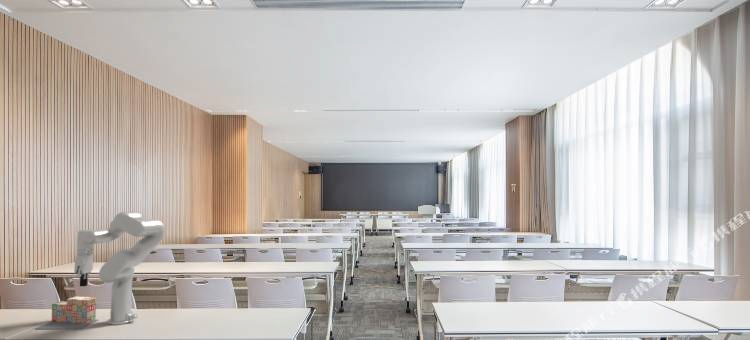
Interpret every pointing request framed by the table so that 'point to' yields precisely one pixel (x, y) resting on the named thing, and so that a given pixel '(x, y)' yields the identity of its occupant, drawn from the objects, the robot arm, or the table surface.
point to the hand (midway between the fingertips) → (83, 285)
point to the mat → (64, 325)
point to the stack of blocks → (75, 310)
